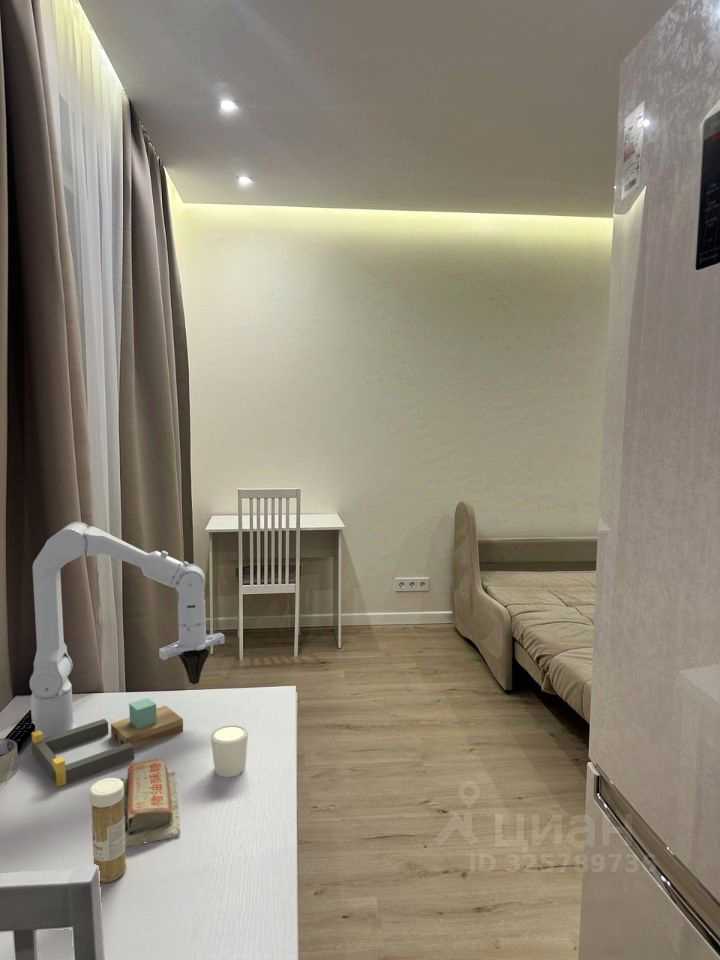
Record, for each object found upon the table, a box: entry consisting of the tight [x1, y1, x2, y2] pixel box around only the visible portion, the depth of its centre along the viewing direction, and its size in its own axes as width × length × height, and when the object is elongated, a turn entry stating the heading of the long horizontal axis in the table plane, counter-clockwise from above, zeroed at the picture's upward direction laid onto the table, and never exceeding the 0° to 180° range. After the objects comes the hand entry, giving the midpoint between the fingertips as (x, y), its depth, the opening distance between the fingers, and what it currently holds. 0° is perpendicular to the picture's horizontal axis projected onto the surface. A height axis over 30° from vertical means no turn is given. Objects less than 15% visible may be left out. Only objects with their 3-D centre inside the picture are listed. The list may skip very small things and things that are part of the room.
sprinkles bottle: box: [89, 777, 127, 883], centre depth 91 cm, size 5×5×14 cm
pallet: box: [110, 705, 184, 750], centre depth 131 cm, size 8×12×3 cm, turn 132°
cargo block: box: [128, 697, 157, 729], centre depth 130 cm, size 4×4×4 cm
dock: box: [31, 718, 135, 788], centre depth 122 cm, size 15×14×4 cm
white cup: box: [210, 724, 249, 778], centre depth 118 cm, size 7×7×7 cm
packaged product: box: [119, 758, 181, 848], centre depth 106 cm, size 18×5×10 cm
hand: (194, 682), depth 138 cm, fingers closed
